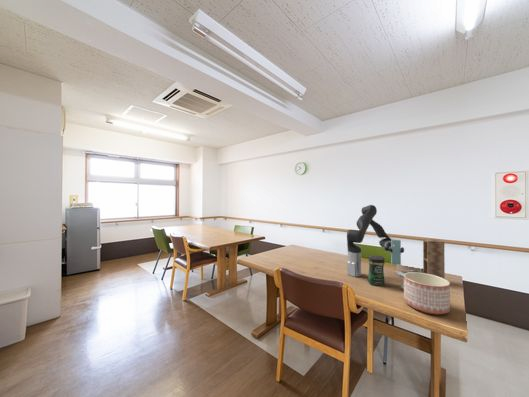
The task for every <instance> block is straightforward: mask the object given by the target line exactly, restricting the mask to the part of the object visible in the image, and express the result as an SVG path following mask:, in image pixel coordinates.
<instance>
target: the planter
mask: <svg viewBox="0 0 529 397" xmlns="http://www.w3.org/2000/svg"><path fill="white" fill-rule="evenodd" d="M408 272H409V271H408ZM403 283H404V289H403V300H404V302H405V303H406V304H408V305H409V306H410V307H411V308H413V309H414V310H416V311H419V312H422V313H424V314H429V315H434V316H436V315H437V316H438V315H444V314H445V315H446V314H448V313H450V311H451V283H450V281H449V280H448V279H446V278H445V279H444V278H441V277H438V276H435V275H431V274H426V273H418V272H409V273H405V274H404V278H403Z"/></svg>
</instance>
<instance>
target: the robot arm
mask: <svg viewBox="0 0 529 397" xmlns="http://www.w3.org/2000/svg"><path fill="white" fill-rule="evenodd" d="M360 211H361V214H362V215H360V216H359V218H358V219H357V220H356V227H357V228H358V229H357V230H356V229H348V230H347V232H346V242H347V243H346V244H347V262H346V263H347V264H346V266H347V268H346V270H347V271H346V272H347V273H346V274H347V275H348V276H351V277H361V276H362V249H361V247H360V246H358V245H356V244H361V243H363V241H364V238H365V235H366V233H367V230H368V228H369V226H371V227H372V229H373V231H374V232H375V235H377V237H378V238H379V239H380V240H379V241H378V243H379V245H380V247H381V248H383V250H384V251H385V252H389V253H391V252H393V250H392V249H391V239H392V238H391V237H390V236H389V235H388V234H387V232H386V231H385V229H384V227H383V226H382V225H381V224H380V223H378V222H376V221H375V220H374V217H375V216H376V215H377V207H376V206H375V205H373V204H368V205H366V206H363V207H361V210H360ZM402 253H405V248H404V247H403V246H402V247H401V254H402Z"/></svg>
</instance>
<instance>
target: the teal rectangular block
mask: <svg viewBox="0 0 529 397" xmlns="http://www.w3.org/2000/svg"><path fill="white" fill-rule="evenodd" d="M401 242H402V241H401V239H392V238H391V249H392V250H393V252H390V264H391V265H397V266H401V265H402V262H401V261H402V259H401V258H402V257H401V256H402V253H401V248H402V247H401V245H402V243H401Z"/></svg>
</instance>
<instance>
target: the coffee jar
mask: <svg viewBox="0 0 529 397" xmlns="http://www.w3.org/2000/svg"><path fill="white" fill-rule="evenodd" d="M367 262H368V264H369V265H368V276H367V282H368V283H369V285H372V286H381V287H383V286H385V282H386V281H385V272H384V266H385V257H384V256H381V255H369V256H368V260H367Z"/></svg>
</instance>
